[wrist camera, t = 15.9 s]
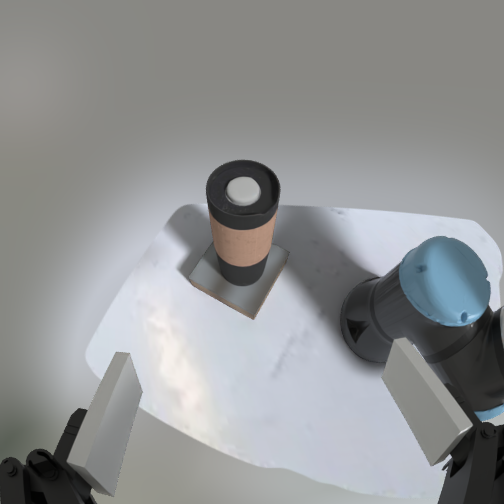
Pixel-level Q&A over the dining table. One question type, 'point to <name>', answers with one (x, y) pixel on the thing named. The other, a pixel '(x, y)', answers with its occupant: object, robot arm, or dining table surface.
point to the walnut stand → (234, 296)
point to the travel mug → (242, 218)
